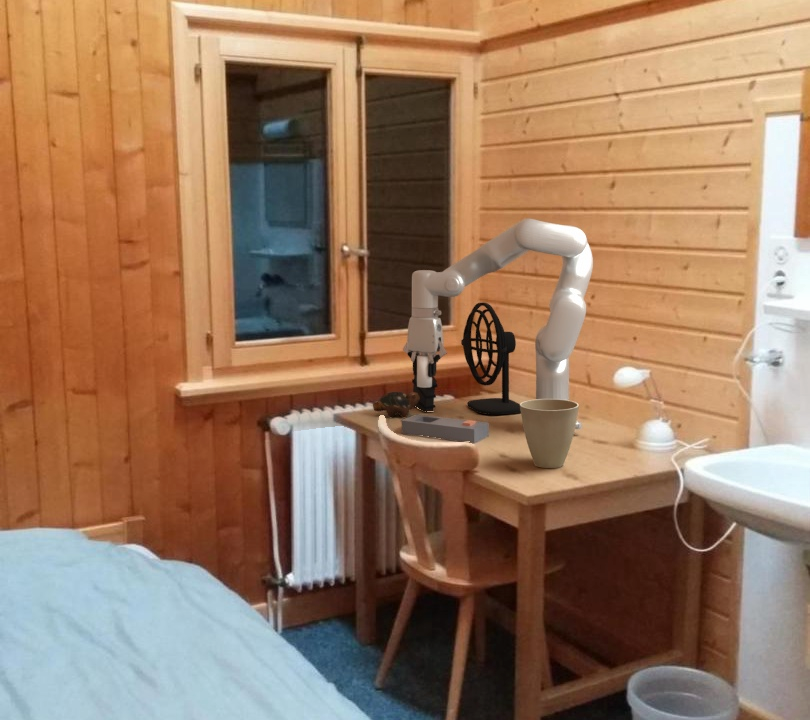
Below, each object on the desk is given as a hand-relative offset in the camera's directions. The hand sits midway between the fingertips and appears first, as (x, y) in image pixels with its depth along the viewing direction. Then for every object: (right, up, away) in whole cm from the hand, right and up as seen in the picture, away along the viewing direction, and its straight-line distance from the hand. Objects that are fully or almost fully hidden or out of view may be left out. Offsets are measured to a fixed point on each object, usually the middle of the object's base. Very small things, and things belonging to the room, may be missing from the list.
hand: (424, 374), depth 285 cm
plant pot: (+31, -23, -33) cm, 51 cm away
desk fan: (+23, -12, +32) cm, 41 cm away
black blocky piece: (+1, -12, +33) cm, 35 cm away
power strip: (+6, -18, 0) cm, 19 cm away
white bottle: (0, -3, +1) cm, 3 cm away
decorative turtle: (-8, -14, +26) cm, 30 cm away
